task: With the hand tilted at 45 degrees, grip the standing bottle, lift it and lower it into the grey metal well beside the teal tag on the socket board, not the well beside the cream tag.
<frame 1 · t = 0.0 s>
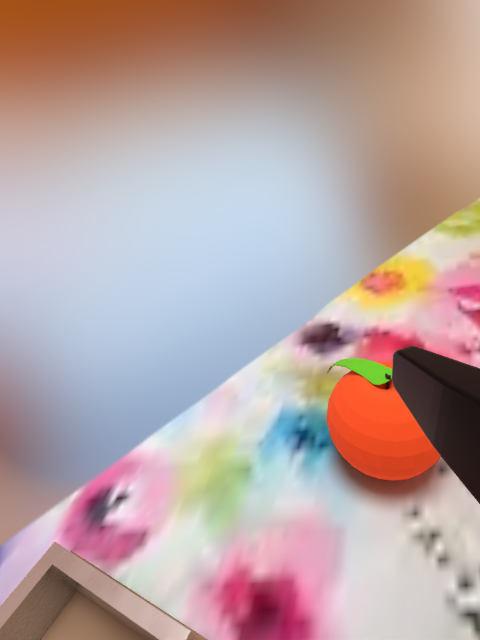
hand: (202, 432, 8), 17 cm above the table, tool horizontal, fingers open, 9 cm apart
clementine: (375, 451, 26), on the table
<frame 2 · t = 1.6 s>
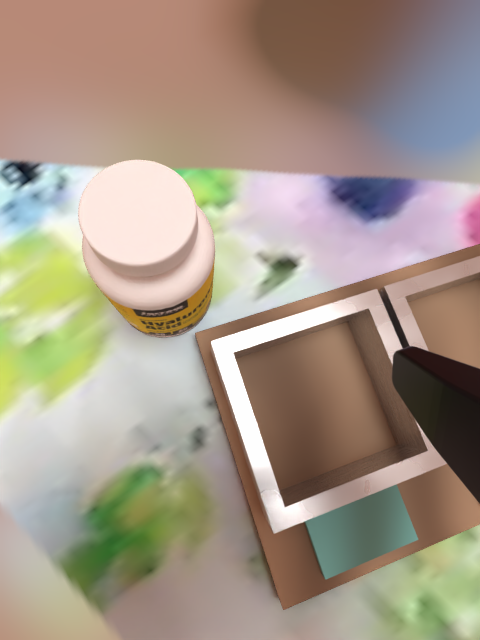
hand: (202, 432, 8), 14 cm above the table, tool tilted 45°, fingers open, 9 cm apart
supplement bottle: (166, 294, 23), on the table
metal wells: (400, 373, 20), point 3 cm above the table
socket board: (378, 377, 22), on the table
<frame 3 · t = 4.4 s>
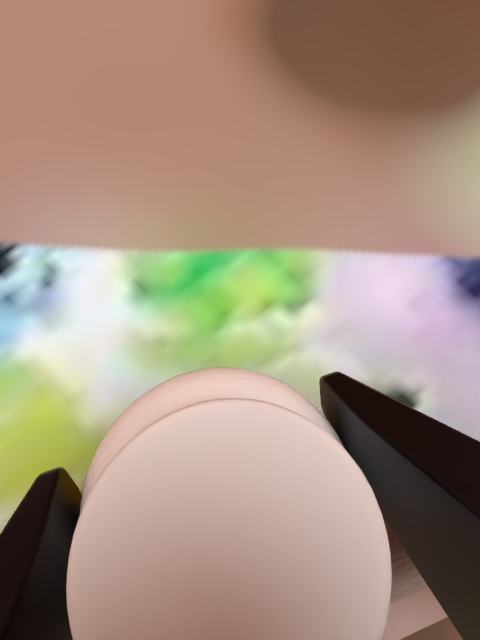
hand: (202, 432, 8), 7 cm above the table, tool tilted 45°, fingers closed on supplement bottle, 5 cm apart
supplement bottle: (215, 459, 14), on the table, touching gripper
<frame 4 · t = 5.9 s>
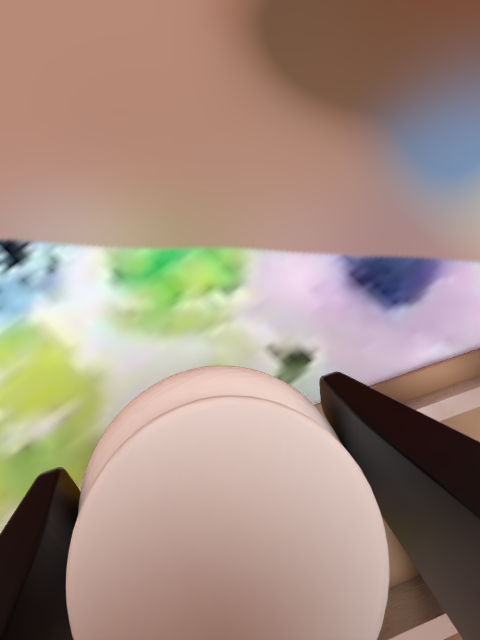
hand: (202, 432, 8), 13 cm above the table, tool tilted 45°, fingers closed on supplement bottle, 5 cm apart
supplement bottle: (213, 458, 14), point 6 cm above the table, touching gripper
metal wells: (425, 502, 18), point 3 cm above the table
socket board: (397, 489, 21), on the table
when the fingers open (9 cm above the table, at t = 7.9 s): supplement bottle stays where it is, resting on socket board.
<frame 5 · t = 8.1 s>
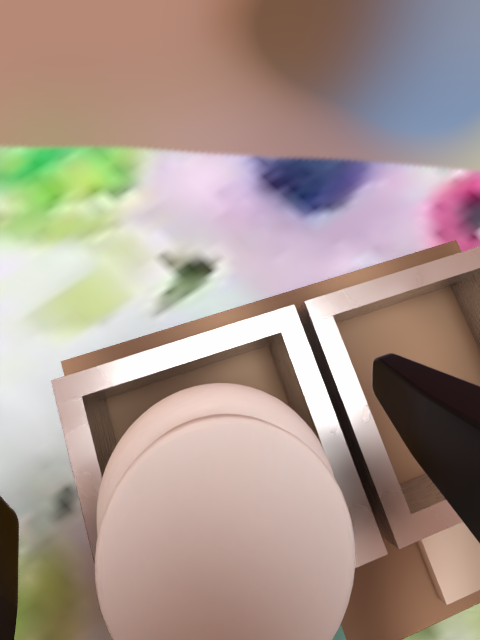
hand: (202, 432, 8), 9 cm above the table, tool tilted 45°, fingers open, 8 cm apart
supplement bottle: (213, 461, 15), point 1 cm above the table, touching socket board
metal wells: (330, 418, 15), point 3 cm above the table
socket board: (311, 417, 17), on the table
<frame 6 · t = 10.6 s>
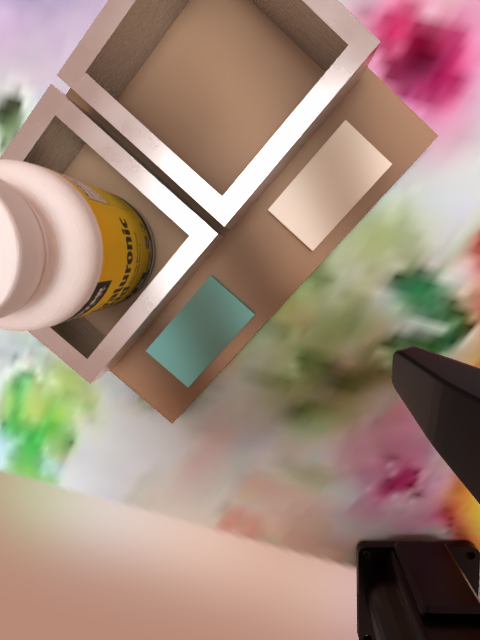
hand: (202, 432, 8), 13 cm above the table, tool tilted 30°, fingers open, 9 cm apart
supplement bottle: (106, 249, 19), point 1 cm above the table, touching socket board
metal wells: (150, 164, 17), point 3 cm above the table
socket board: (166, 176, 19), on the table
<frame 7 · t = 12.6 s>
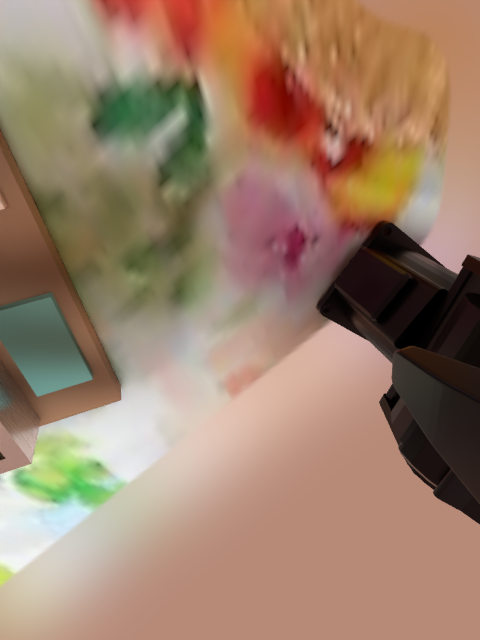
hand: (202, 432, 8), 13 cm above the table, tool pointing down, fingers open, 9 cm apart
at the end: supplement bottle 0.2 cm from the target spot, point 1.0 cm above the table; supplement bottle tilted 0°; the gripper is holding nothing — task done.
